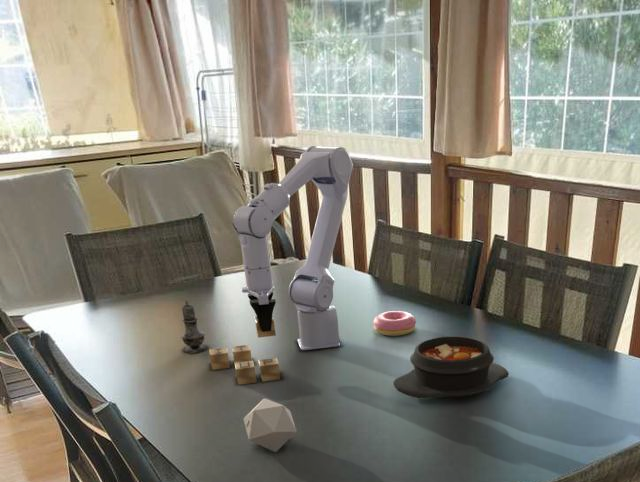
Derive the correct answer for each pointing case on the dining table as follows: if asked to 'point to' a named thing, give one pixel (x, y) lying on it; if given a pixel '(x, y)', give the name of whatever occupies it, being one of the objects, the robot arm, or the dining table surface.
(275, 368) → the tile
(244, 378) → the tile
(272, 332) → the tile
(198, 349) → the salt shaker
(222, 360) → the tile
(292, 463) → the dining table surface
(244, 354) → the tile
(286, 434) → the die
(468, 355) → the casserole
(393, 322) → the doughnut
